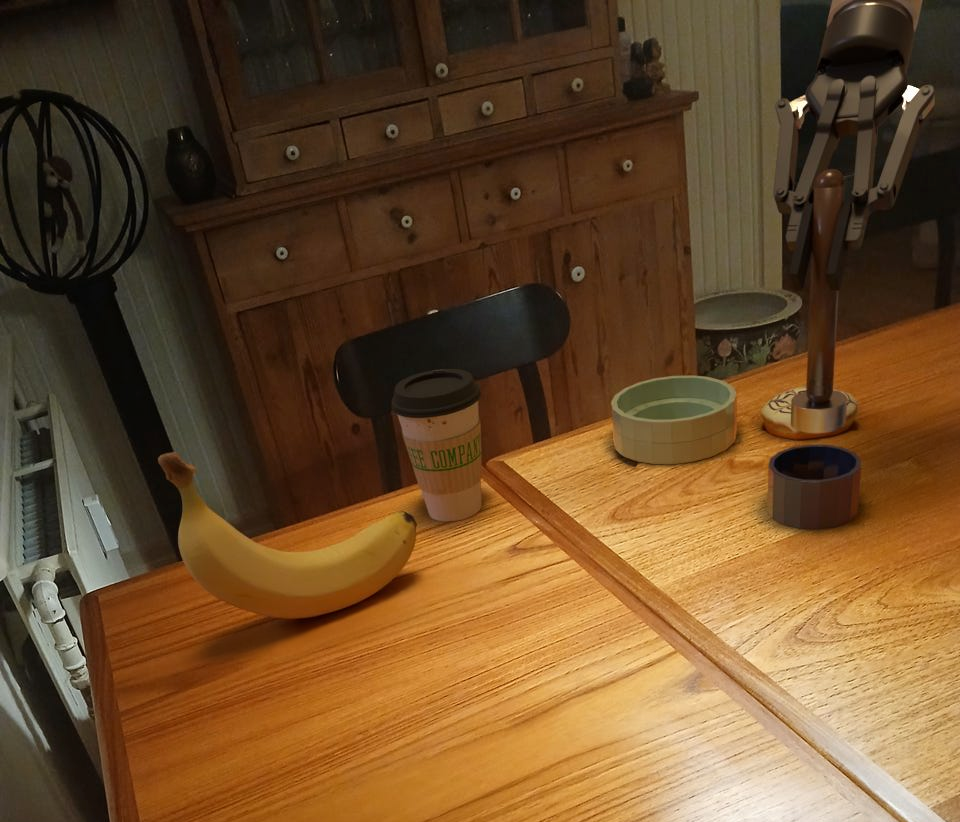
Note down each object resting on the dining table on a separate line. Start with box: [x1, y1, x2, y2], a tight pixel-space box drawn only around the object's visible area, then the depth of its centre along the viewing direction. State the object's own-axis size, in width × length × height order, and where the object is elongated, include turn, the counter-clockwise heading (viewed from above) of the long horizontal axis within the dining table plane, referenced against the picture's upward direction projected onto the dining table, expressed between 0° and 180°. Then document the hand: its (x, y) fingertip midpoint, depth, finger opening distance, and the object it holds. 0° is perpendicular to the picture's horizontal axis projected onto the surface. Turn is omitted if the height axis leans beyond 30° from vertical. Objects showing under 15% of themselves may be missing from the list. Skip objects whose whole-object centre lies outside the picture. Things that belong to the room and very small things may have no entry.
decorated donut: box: [760, 385, 858, 440], centre depth 117 cm, size 10×11×4 cm
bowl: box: [610, 375, 738, 465], centre depth 117 cm, size 14×14×6 cm
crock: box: [766, 444, 863, 531], centre depth 98 cm, size 9×9×6 cm
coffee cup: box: [390, 368, 483, 523], centre depth 109 cm, size 10×10×15 cm
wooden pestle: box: [791, 168, 847, 433], centre depth 88 cm, size 5×5×22 cm
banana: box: [157, 451, 418, 620], centre depth 93 cm, size 23×6×20 cm, turn 117°
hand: (814, 282), depth 84 cm, fingers closed on wooden pestle, 2 cm apart
